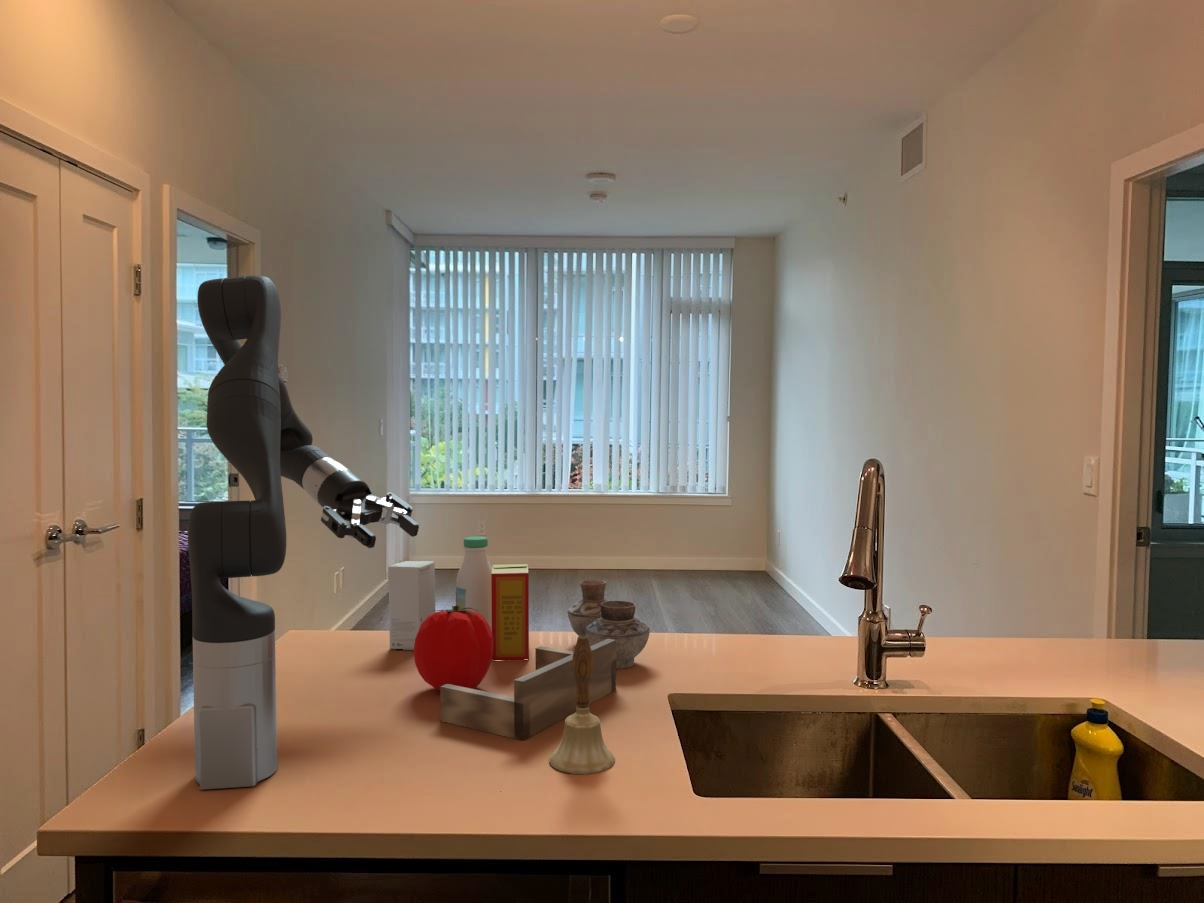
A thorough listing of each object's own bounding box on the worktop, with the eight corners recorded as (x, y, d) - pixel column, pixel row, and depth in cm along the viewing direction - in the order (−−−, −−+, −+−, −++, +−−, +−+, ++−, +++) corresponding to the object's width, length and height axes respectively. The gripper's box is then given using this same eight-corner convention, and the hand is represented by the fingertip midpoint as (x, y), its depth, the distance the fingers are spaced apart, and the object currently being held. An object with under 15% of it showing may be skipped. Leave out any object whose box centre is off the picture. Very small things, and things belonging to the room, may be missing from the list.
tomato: (417, 705, 131) (416, 617, 131) (411, 680, 143) (410, 600, 143) (500, 697, 135) (500, 611, 134) (488, 673, 147) (487, 595, 146)
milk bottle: (500, 636, 172) (499, 535, 171) (491, 646, 164) (490, 540, 163) (461, 635, 172) (461, 534, 172) (451, 645, 165) (450, 540, 164)
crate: (440, 721, 124) (440, 665, 124) (540, 675, 146) (540, 628, 145) (523, 740, 117) (523, 681, 116) (616, 689, 138) (616, 639, 138)
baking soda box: (528, 660, 155) (528, 570, 154) (491, 661, 154) (491, 571, 154) (528, 646, 164) (527, 561, 164) (493, 647, 164) (492, 562, 163)
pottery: (612, 635, 173) (612, 575, 172) (659, 670, 149) (659, 601, 149) (557, 640, 169) (556, 578, 169) (596, 676, 146) (596, 605, 145)
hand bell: (628, 761, 110) (628, 636, 109) (580, 780, 104) (580, 648, 103) (583, 743, 116) (583, 624, 115) (535, 761, 110) (535, 635, 109)
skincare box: (419, 651, 161) (419, 567, 160) (386, 649, 162) (385, 566, 161) (437, 640, 169) (436, 560, 168) (405, 638, 170) (404, 559, 169)
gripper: (302, 475, 139) (362, 526, 131) (374, 462, 150) (434, 508, 142) (294, 515, 142) (353, 567, 134) (366, 499, 153) (425, 547, 145)
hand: (395, 537), depth 138 cm, fingers open, 8 cm apart
